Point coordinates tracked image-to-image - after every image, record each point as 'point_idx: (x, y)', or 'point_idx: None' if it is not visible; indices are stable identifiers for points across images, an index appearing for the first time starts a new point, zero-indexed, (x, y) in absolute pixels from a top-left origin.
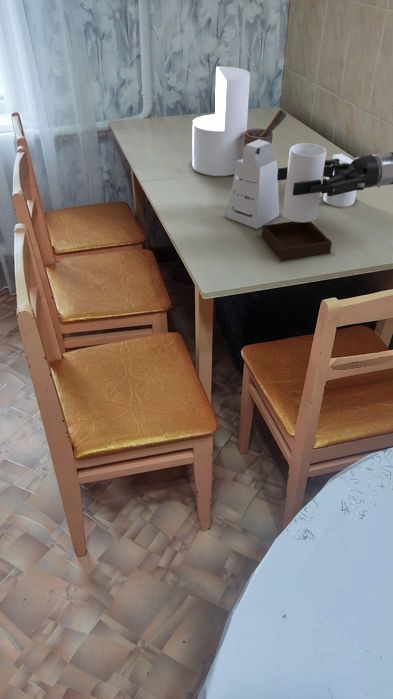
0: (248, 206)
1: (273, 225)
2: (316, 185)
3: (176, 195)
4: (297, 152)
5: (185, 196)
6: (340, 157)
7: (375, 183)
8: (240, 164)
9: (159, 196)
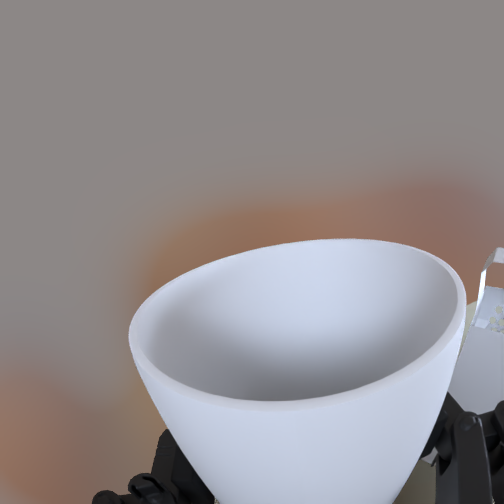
0: None
1: None
2: (167, 459)
3: (489, 320)
4: (408, 306)
5: (493, 329)
6: None
7: None
8: (482, 297)
9: (475, 308)
